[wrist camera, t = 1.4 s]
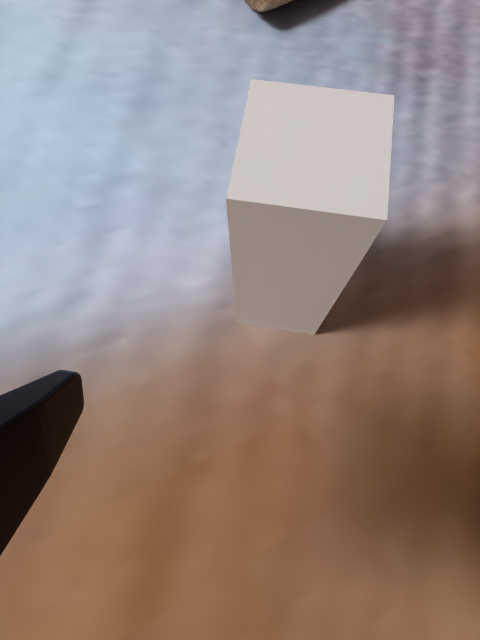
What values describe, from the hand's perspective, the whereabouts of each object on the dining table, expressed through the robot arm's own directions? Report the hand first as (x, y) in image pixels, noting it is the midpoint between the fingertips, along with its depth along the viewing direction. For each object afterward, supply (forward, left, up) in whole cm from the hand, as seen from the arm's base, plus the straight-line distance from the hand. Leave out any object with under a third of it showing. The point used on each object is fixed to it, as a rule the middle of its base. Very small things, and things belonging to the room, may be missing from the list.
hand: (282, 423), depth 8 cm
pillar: (+7, +4, -13) cm, 15 cm away
